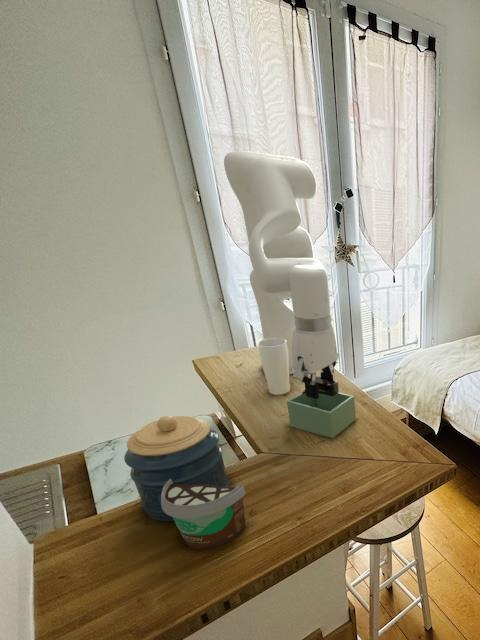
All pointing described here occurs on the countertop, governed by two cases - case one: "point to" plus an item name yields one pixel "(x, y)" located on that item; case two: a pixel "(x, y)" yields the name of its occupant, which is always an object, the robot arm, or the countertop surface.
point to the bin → (322, 413)
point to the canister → (173, 459)
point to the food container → (205, 512)
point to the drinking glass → (275, 364)
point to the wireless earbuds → (326, 386)
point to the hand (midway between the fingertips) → (320, 391)
